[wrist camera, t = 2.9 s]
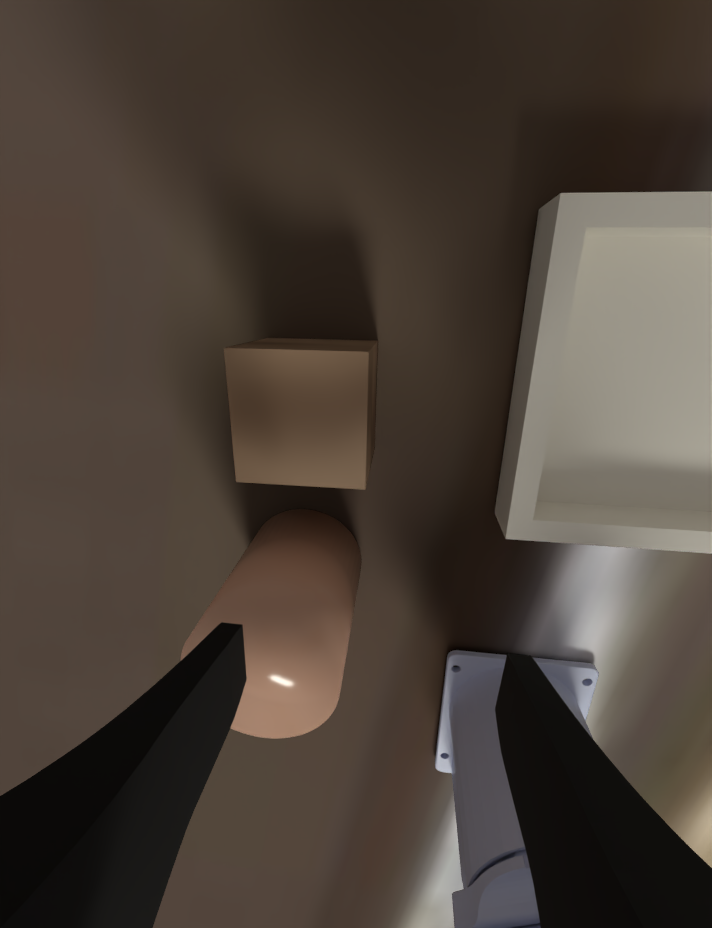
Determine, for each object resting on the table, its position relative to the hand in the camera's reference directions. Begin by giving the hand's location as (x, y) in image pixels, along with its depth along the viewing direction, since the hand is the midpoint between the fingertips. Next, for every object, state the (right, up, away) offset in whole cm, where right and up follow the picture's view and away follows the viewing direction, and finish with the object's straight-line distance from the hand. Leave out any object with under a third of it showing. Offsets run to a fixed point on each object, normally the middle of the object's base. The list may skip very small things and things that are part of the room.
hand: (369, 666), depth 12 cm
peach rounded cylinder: (-3, 0, +11) cm, 12 cm away
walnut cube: (-2, +9, +8) cm, 12 cm away
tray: (+14, +9, +6) cm, 18 cm away
